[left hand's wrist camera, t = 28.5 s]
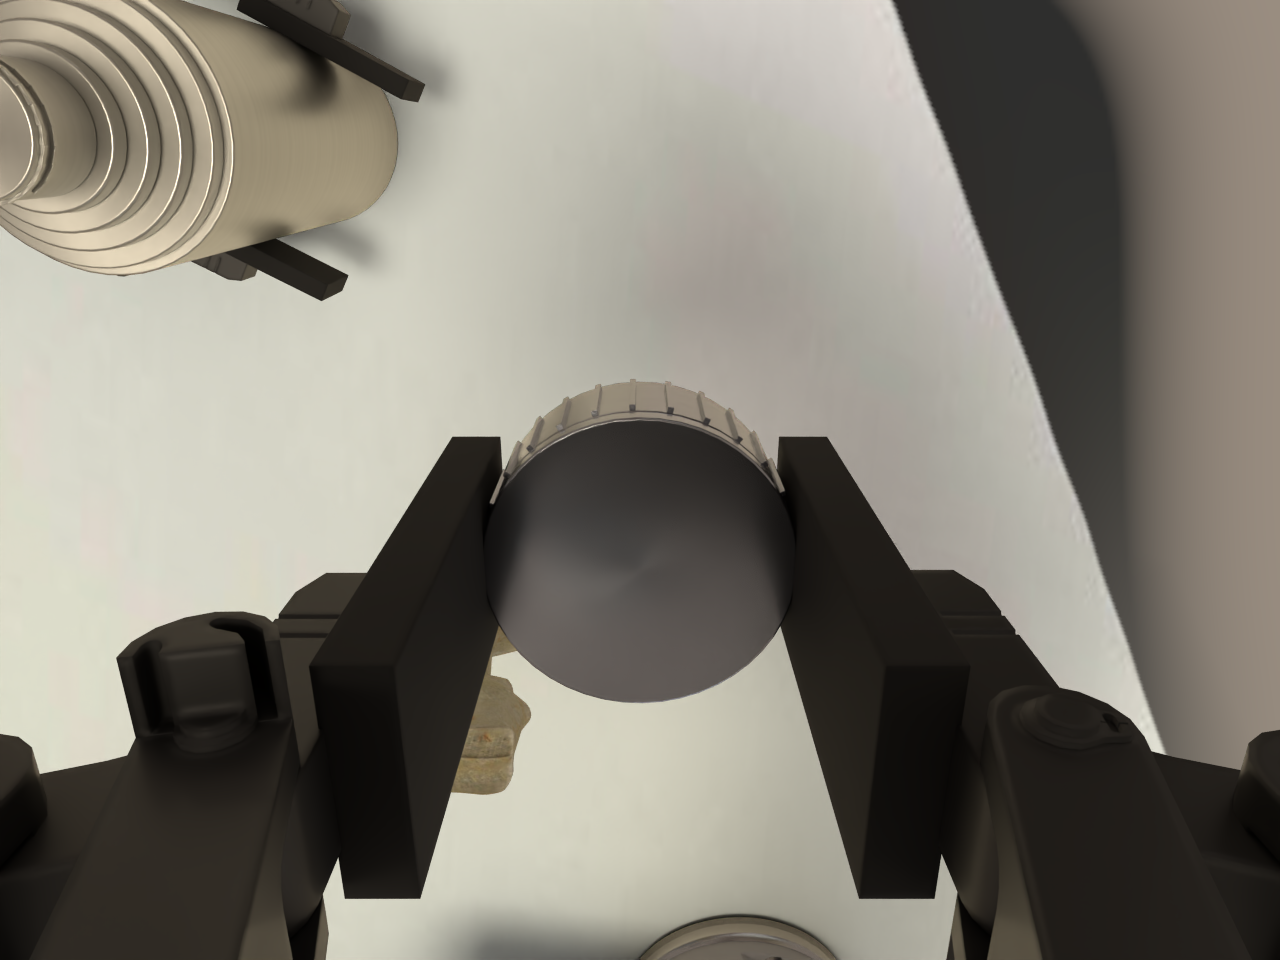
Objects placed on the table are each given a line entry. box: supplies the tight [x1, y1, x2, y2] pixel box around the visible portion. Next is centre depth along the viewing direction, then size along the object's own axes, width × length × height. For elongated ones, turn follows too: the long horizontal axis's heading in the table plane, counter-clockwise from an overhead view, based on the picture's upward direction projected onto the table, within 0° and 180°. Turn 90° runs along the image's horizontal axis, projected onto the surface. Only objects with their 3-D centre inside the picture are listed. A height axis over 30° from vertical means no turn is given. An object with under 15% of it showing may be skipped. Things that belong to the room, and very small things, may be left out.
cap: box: [483, 379, 796, 703], centre depth 13 cm, size 5×5×2 cm
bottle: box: [0, 0, 398, 275], centre depth 30 cm, size 8×8×23 cm
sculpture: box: [451, 626, 531, 795], centre depth 42 cm, size 6×7×15 cm
